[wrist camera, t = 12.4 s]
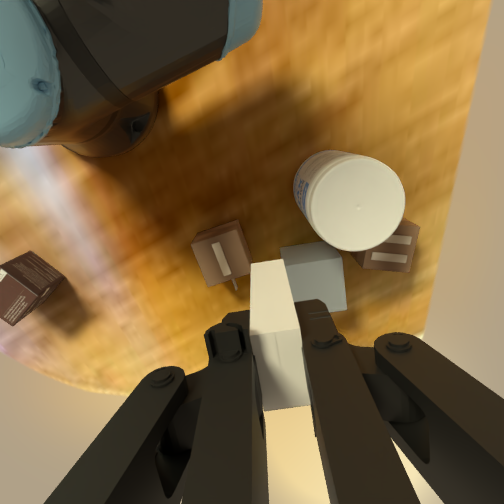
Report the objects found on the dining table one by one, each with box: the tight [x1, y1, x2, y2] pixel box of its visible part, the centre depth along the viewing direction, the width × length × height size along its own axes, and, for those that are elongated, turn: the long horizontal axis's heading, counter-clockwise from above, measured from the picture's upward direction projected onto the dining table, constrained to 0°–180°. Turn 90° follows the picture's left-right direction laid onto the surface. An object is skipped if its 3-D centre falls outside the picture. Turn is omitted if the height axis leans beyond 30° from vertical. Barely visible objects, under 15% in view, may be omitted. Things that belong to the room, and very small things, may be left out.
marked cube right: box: [351, 217, 420, 273], centre depth 49 cm, size 6×6×6 cm
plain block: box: [280, 241, 347, 313], centre depth 50 cm, size 7×7×8 cm
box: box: [0, 251, 64, 326], centre depth 51 cm, size 6×6×7 cm
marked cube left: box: [191, 219, 252, 290], centre depth 50 cm, size 6×8×6 cm
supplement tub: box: [293, 150, 405, 251], centre depth 43 cm, size 10×10×15 cm
